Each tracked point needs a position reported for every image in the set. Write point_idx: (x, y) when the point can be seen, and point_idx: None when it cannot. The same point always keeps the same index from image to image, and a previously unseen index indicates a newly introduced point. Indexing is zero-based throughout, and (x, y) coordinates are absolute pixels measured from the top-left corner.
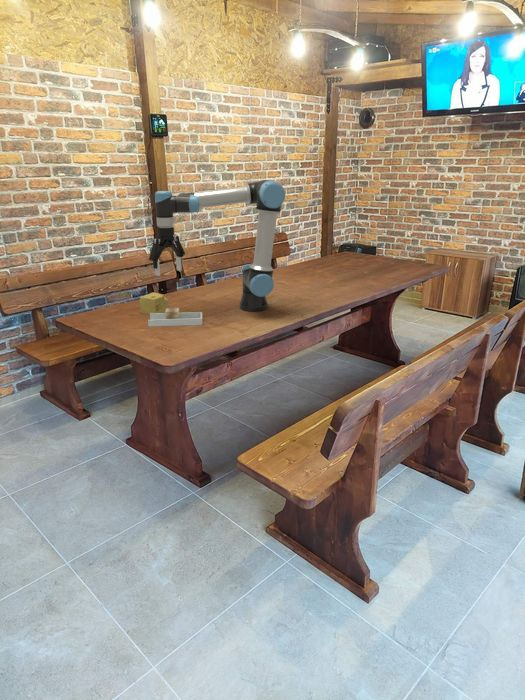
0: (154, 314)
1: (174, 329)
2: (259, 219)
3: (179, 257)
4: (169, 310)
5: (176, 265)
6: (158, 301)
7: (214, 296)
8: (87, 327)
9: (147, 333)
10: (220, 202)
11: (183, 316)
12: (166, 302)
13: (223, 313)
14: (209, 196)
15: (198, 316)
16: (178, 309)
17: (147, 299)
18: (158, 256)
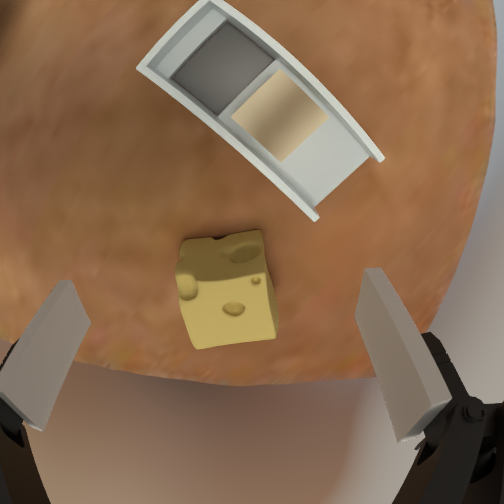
0: (306, 203)
1: (307, 69)
2: None
3: (8, 394)
4: (296, 120)
5: (74, 355)
6: (236, 268)
7: (4, 274)
8: (427, 299)
9: (398, 122)
10: None
11: (209, 113)
12: (187, 265)
13: (44, 105)
14: None
15: (159, 72)
16: (251, 98)
17: (270, 304)
18: (454, 476)
